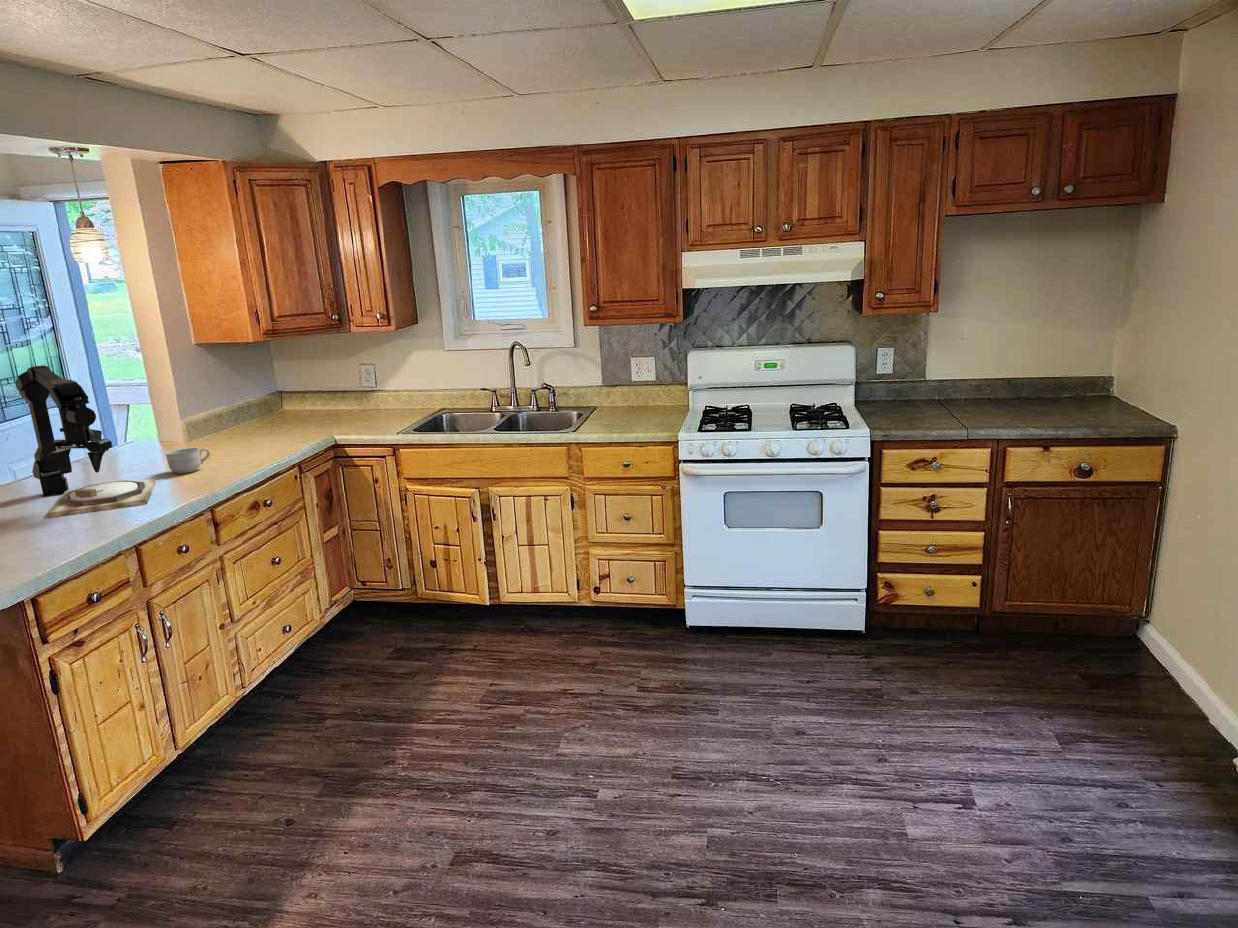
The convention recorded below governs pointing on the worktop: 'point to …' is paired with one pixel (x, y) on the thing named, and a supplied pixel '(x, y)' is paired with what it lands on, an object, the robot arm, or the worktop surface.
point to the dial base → (103, 500)
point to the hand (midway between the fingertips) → (83, 472)
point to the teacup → (186, 459)
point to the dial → (103, 490)
